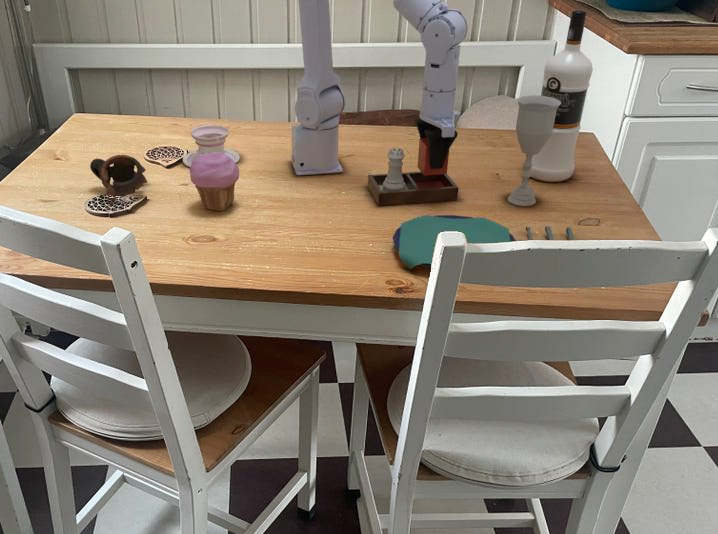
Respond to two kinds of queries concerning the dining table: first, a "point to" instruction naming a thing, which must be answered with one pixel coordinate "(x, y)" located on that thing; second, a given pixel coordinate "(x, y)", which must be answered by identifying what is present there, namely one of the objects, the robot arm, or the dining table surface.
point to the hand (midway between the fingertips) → (432, 163)
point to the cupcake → (214, 179)
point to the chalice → (532, 138)
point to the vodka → (564, 105)
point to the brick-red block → (425, 162)
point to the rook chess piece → (394, 171)
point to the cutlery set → (422, 231)
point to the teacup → (209, 142)
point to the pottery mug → (119, 175)
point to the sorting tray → (414, 189)
